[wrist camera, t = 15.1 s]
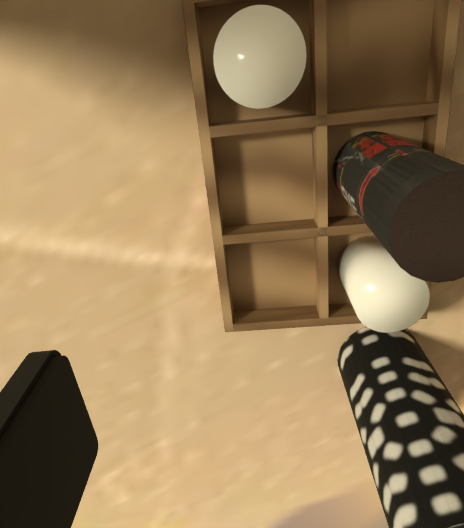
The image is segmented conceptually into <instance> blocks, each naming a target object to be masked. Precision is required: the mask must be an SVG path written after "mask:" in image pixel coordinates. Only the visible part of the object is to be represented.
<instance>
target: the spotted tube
mask: <svg viewBox="0 0 464 528" xmlns="http://www.w3.org/2000/svg"><path fill="white" fill-rule="evenodd" d="M338 366H339V370H340V373H341V376H342V379H343V382H344V386H345V389H346V392H347V395H348V398H349V402H350V405H351V408H352V411H353V414H354V417H355V421H356V424H357V427H358V430H359V433H360V437H361V440H362V443H363V446H364V449H365V453H366V456H367V459H368V462H369V465H370V468H371V472H372V475H373V478H374V481H375V484H376V488H377V491H378V494H379V497H380V500H381V504H382V507H383V510H384V513H385V516H386V519H387V523H388V526H389V528H464V414H463V413H462V411H461V410H460V408H459V407H458V405H457V403H456V402H455V400H454V399H453V397H452V396H451V394H450V392H449V391H448V389H447V388H446V386H445V385H444V383H443V382H442V380H441V378H440V377H439V375H438V374H437V372H436V371H435V369H434V367H433V366H432V364H431V363H430V361H429V360H428V358H427V357H426V355H425V353H424V352H423V350H422V349H421V347H420V346H419V344H418V342H417V341H416V339H415V338H414V337H413V336H412V334H411V333H410V332H408V331H407V330H405V329H403V330H400V331H397V332H390V333H385V332H378V331H374V330H372V329H370V328H368V327H364V328H362V329H360V330H358V331H356V332H355V333H353V334H352V335H351V336H350V337H349V338H348V339H347V340H346V341H345V342H344V343H343V345H342V346H341V349H340V351H339V354H338Z"/></svg>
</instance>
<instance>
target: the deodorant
mask: <svg viewBox="0 0 464 528" xmlns="http://www.w3.org/2000/svg"><path fill="white" fill-rule="evenodd" d="M333 179H334V182H335V185H336V187H337V189H338V190H339V191H340V193H341V194H342V195H343V197H344V198H345V199H346V200H347V202H348V203H349V204H350V205H351V207H352V208H353V209H354V210H355V212H356V213H357V214H358V215H359V217H360V218H361V219H362V220H363V222H364V223H365V224H366V225H367V226H368V228H369V229H370V230H371V231H372V233H373V234H374V235H375V236H376V238H377V239H378V240H379V241H380V243H381V244H382V245H383V246H384V248H385V249H386V250H387V251H388V253H389V254H390V255H391V256H392V258H393V259H394V260H395V261H396V263H397V264H398V265H399V266H400V268H402V269H403V270H404V271H405V272H407V273H408V274H409V275H411V276H413V277H415V278H418V279H421V280H423V281H431V282H446V281H454V280H457V279H460V278H463V277H464V165H462V164H459V163H457V162H454V161H452V160H449V159H447V158H445V157H442V156H440V155H437V154H435V153H432V152H430V151H428V150H425V149H423V148H420V147H418V146H415V145H413V144H410V143H408V142H406V141H403V140H401V139H398V138H396V137H393V136H391V135H389V134H386V133H384V132H378V131H369V132H363V133H361V134H358V135H356V136H354V137H352V138H351V139H350V140H348V141H347V142H346V143H345V144H344V145H343V146H342V147H341V149H340V150H339V152H338V154H337V156H336V158H335V160H334V165H333Z"/></svg>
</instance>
